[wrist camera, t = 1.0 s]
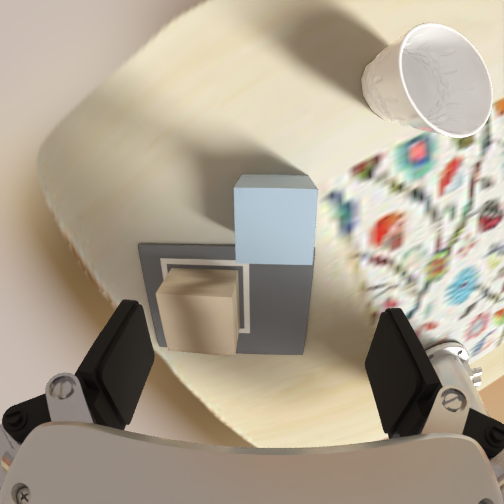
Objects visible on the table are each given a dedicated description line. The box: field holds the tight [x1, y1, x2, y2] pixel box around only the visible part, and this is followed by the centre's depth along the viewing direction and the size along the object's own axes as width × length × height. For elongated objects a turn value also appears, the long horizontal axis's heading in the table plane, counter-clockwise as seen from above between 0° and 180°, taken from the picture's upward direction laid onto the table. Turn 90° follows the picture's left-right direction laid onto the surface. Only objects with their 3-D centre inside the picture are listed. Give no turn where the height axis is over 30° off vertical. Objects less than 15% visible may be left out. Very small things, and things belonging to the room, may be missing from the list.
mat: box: [138, 244, 315, 355], centre depth 32 cm, size 18×14×1 cm
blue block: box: [234, 174, 318, 265], centre depth 25 cm, size 6×6×6 cm
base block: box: [156, 268, 240, 356], centre depth 29 cm, size 7×7×5 cm
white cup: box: [361, 23, 493, 138], centre depth 17 cm, size 8×8×10 cm
